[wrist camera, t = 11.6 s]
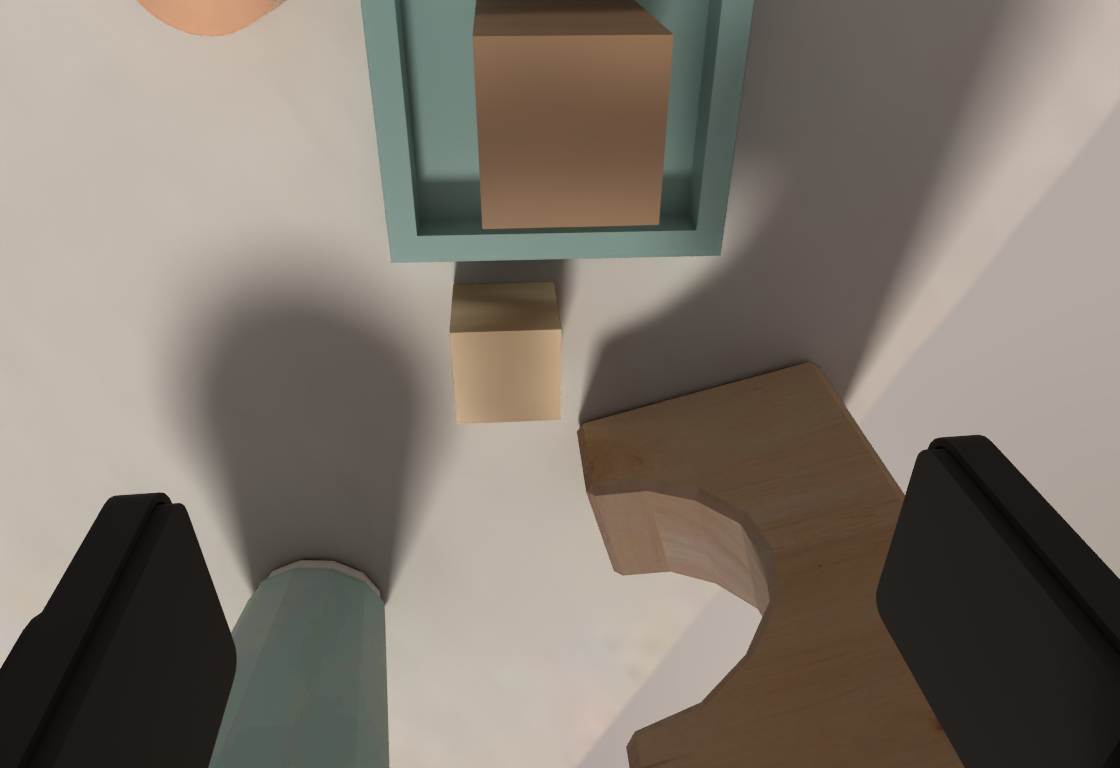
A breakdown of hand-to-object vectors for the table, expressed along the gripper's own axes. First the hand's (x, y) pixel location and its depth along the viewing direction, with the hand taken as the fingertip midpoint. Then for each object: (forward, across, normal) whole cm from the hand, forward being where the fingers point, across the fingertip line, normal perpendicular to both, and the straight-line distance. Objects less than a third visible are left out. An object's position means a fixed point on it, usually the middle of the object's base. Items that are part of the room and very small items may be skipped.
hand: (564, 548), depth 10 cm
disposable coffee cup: (+22, +11, +24) cm, 34 cm away
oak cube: (+21, 0, +8) cm, 23 cm away
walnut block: (+20, -2, -2) cm, 21 cm away
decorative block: (+21, -9, +14) cm, 27 cm away
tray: (+21, -2, -2) cm, 21 cm away
